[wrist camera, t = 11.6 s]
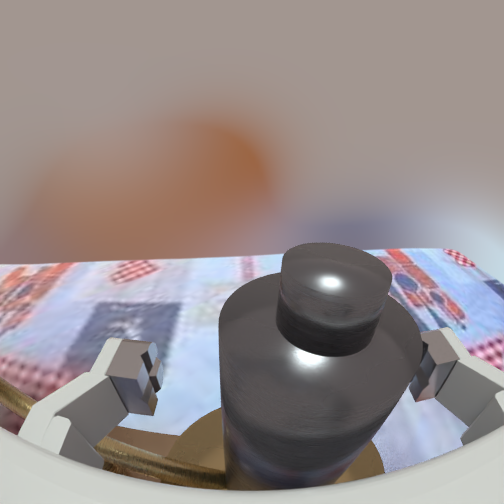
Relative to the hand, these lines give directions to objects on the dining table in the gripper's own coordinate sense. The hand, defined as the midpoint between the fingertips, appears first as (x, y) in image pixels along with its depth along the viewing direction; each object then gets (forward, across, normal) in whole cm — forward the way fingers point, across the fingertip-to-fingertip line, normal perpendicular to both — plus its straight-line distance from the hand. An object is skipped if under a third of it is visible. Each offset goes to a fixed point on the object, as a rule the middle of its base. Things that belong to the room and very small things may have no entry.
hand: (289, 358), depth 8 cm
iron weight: (-1, 0, +9) cm, 9 cm away
